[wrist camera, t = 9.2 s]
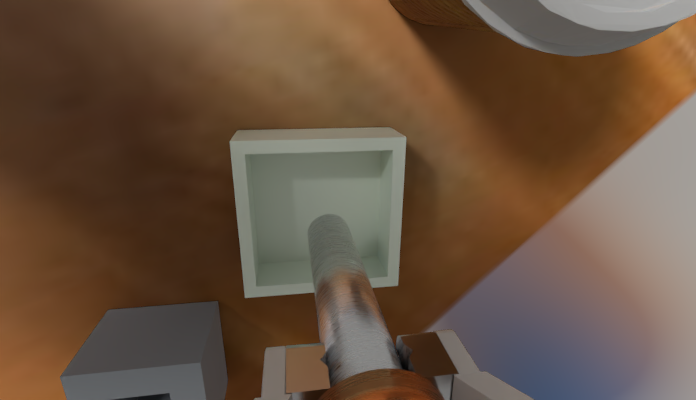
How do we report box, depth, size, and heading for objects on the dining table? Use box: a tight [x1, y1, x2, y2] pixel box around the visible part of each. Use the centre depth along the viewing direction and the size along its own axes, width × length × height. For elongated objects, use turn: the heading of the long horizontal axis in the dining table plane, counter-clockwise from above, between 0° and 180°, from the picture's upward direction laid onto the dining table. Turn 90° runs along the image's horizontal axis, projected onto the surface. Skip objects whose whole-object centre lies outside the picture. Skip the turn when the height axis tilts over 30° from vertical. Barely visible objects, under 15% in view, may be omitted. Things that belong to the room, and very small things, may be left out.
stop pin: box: [308, 214, 445, 400], centre depth 13 cm, size 3×3×12 cm
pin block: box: [60, 301, 228, 400], centre depth 21 cm, size 6×6×5 cm
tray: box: [229, 127, 406, 298], centre depth 20 cm, size 8×8×3 cm
